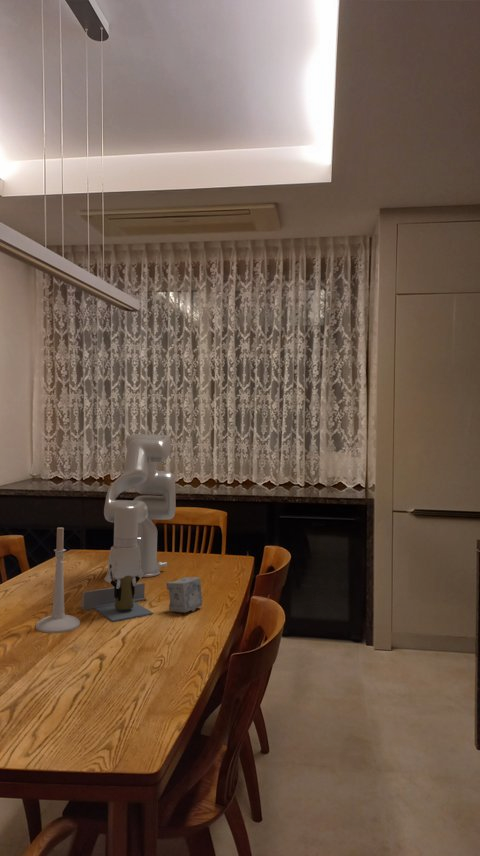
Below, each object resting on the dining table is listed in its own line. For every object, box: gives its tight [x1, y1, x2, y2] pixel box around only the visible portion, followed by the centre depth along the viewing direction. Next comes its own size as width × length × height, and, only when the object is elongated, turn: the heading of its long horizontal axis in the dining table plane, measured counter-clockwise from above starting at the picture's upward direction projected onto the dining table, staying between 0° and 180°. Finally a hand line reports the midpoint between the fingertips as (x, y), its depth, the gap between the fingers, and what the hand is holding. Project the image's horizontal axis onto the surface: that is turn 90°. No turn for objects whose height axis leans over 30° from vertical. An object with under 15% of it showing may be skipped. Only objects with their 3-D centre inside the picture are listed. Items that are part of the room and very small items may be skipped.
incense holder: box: [166, 576, 203, 613], centre depth 198 cm, size 10×8×10 cm
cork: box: [115, 576, 133, 610], centre depth 194 cm, size 6×6×11 cm
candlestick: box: [35, 526, 81, 634], centre depth 180 cm, size 13×13×30 cm
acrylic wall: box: [80, 582, 147, 612], centre depth 202 cm, size 22×4×6 cm, turn 126°
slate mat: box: [94, 601, 154, 623], centre depth 194 cm, size 14×14×1 cm
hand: (124, 598), depth 194 cm, fingers closed on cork, 3 cm apart
